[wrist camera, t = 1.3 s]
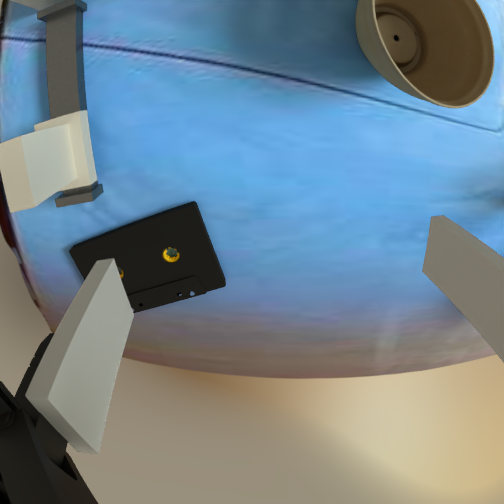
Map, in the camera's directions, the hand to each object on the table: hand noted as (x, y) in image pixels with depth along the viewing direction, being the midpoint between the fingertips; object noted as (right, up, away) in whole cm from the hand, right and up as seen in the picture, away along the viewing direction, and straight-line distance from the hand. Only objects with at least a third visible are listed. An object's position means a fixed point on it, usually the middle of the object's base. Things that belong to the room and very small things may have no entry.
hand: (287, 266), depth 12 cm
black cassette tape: (-15, -1, +27) cm, 31 cm away
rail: (-22, +18, +16) cm, 32 cm away
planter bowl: (+15, +26, +16) cm, 34 cm away
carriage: (-22, +12, +16) cm, 29 cm away
